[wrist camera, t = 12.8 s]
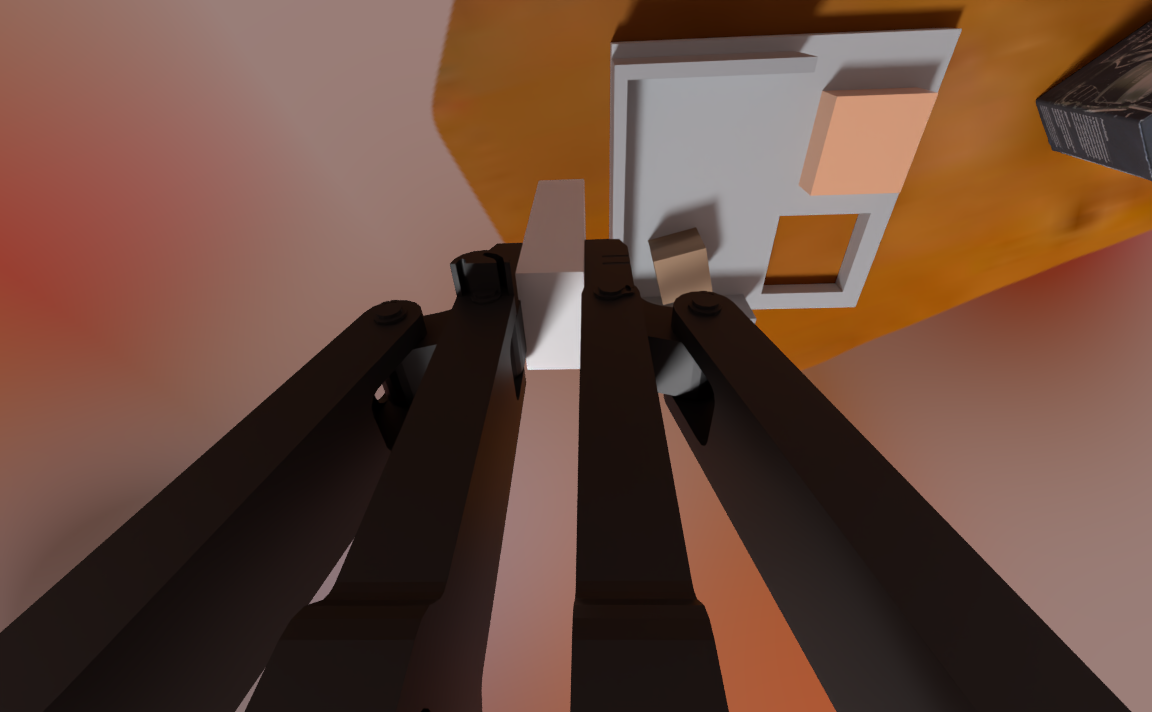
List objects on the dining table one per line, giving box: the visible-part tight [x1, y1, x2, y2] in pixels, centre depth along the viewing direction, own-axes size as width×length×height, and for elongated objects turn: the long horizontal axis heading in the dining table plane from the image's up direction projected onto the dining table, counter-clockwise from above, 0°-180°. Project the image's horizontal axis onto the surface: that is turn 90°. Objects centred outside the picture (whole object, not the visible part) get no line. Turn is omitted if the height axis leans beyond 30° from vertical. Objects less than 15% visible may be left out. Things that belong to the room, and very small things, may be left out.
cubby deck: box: [609, 28, 962, 324], centre depth 44 cm, size 26×28×7 cm
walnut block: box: [648, 227, 713, 305], centre depth 48 cm, size 5×5×5 cm
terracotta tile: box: [799, 87, 938, 196], centre depth 41 cm, size 8×8×3 cm
